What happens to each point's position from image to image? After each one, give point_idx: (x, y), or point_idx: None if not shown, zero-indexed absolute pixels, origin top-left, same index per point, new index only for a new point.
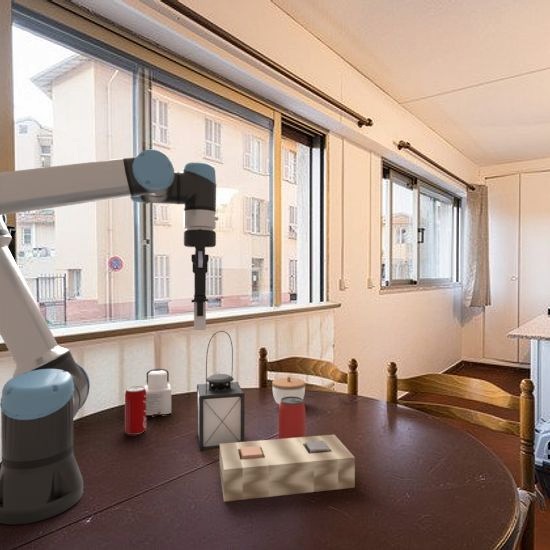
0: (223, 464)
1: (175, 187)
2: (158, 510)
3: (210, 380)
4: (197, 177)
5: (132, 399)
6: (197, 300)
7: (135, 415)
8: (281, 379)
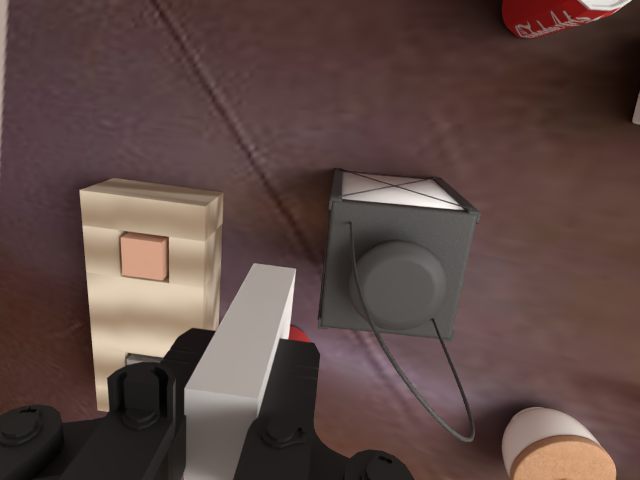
0: (101, 193)
1: None
2: (102, 58)
3: (376, 253)
4: None
5: None
6: (64, 426)
7: None
8: (596, 473)
